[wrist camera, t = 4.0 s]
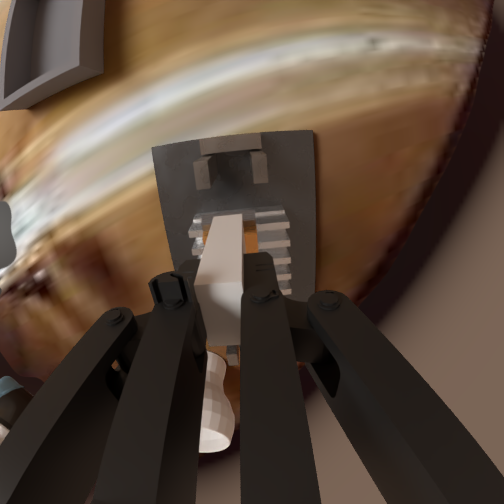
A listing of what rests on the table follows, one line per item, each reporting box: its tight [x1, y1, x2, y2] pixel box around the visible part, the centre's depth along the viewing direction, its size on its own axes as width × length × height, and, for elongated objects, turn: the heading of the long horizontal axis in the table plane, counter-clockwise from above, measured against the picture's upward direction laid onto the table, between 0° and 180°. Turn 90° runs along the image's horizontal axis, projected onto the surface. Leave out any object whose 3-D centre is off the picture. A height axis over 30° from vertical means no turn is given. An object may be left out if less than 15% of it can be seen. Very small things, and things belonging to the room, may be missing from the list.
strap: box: [201, 210, 258, 347], centre depth 24 cm, size 23×3×2 cm, turn 5°
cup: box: [199, 351, 234, 453], centre depth 37 cm, size 11×11×15 cm
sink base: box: [152, 130, 316, 366], centre depth 30 cm, size 26×18×9 cm
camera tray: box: [0, 0, 105, 111], centre depth 17 cm, size 14×21×6 cm
